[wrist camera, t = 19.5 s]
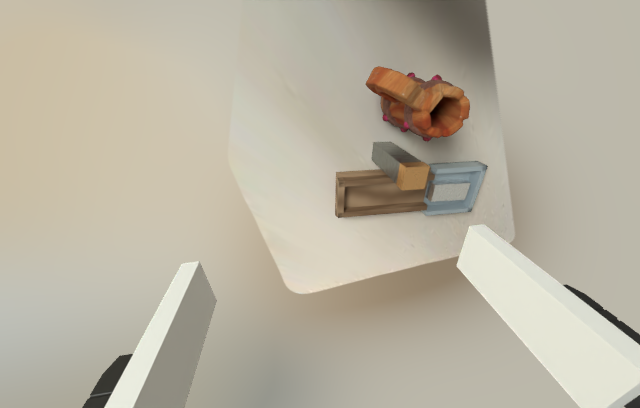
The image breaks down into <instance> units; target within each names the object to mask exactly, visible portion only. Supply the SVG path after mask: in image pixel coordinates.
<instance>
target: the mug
mask: <svg viewBox="0 0 640 408" xmlns="http://www.w3.org/2000/svg"><path fill="white" fill-rule="evenodd" d="M366 86H367V87H368V88H369V89H370V90H372V91H373V92H374V93H376V94H378V95H379V96H382V97H381V108H382V111H383V113H384V115H383V121H389V122H390V123H391V124H393V125H395V126H397V127H399V128H400V129H401V131H402V132H406V131H407V130H408V129H409V130H410V131H412V132H413V133H415V134H417V135H419V136H422V137H423V140H424V141H429V140H430V139H431V138H432V137H436V138H439V137H441V136H443V137H447V136H450V135H452V134H454V133H455V132H457V131H458V130H459V129H460V128H461V127H462V126H463V120H464V119H467V118H468V117H469V110H470V103H469V100H468V99H467V97H465V96H464V91H463V90H461V89H460V88H458V87H454V86H453V85H452V84H450V83H449V82H446V81H443V80H442V78H441V77H440V76H439V75H436V76H434V77H433V78H432V79H431V80H430V81H427V82H425V81H423V80H422V79H420V78H416V77H415V74H414V73H409V74H408V75H407V76H406V75H404V74H402V73H400V72H398V71H394V70H392V69H388V68H384V67H375V68H374V69H373V71H372V73H371V74H370V76H369V78H368V80H367V82H366Z"/></svg>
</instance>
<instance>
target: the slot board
mask: <svg viewBox="0 0 640 408" xmlns="http://www.w3.org/2000/svg"><path fill="white" fill-rule="evenodd" d="M434 178H435V174H433V173H432V172H431V167H430V168H429V172H428V176H427V180H426V184H425V188H424V189H416V190H401V189H400V188H399V187H398V186H397V185H396V184H395V183H394V182H393V181H392V180H391V179H390V178H389V177H388V176H387V175H386V174H385V173H384V172H383V171H382V170H381V169H379V170H364V171H348V172H336V203H335V215H336V216H337V217H338V218H341V217H353V216H364V215H376V214H388V213H399V212H411V211H423V210H427V206H428V205H427V204H426V203H424V202H423V201H424V197H425V193H426V189H427V184H428V181H431V180H434Z"/></svg>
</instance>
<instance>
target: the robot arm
mask: <svg viewBox="0 0 640 408" xmlns="http://www.w3.org/2000/svg"><path fill="white" fill-rule="evenodd" d="M456 266H457V267H458V268H459V270H460V271H461V272H462V273H463V274H464V275H465V276H466V278H467V279H468V280H469V281H470V282H471V283H472V284H473V286H474V287H475V288H476V289H477V290H478V291H479V292H480V293H481V295H482V296H483V297H484V298H485V299H486V300H487V302H488V303H489V304H490V305H491V306H492V307H493V308H494V310H495V311H496V312H497V313H498V314H499V315H500V316H501V317H502V319H503V320H504V321H505V322H506V323H507V324H508V326H509V327H510V328H511V329H512V330H513V331H514V332H515V334H516V335H517V336H518V337H519V338H520V339H521V340H522V341H523V343H524V344H525V345H526V346H527V347H528V348H529V350H530V351H531V352H532V353H533V354H534V355H535V356H536V358H537V359H538V360H539V361H540V362H541V363H542V364H543V366H544V367H545V368H546V369H547V370H548V371H549V372H550V374H551V375H552V376H553V377H554V378H555V379H556V380H557V382H558V383H559V384H560V385H561V386H562V387H563V388H564V390H565V391H566V392H567V393H568V394H569V395H570V396H571V398H572V399H573V400H574V401H575V402H576V403H577V405H578V406H579V407H580V408H622V407H626V408H640V335H639V334H638V333H637V332H635V331H634V330H633V329H631V328H630V327H629V326H627V325H626V324H625V323H623V322H622V321H618V320H617V317H615V316H614V315H612V314H611V313H610V312H608V311H607V310H604V309H603V307H602V306H600V305H599V304H598V303H596V302H595V301H593V300H592V299H591V298H590V297H588V296H587V295H586V294H584V293H582V292H580V291H578V290H576V289H574V288H572V287H570V286H568V285H562V284H560V283H559V282H558V281H556V280H555V279H554V278H553V277H551V276H550V275H549V274H547V273H546V272H545V271H543V270H542V269H541V268H540V267H538V266H537V265H536V264H535V263H533V262H532V261H531V260H529V259H528V258H527V257H526V256H524V255H523V254H521V253H520V252H519V251H518V250H516V249H515V248H514V247H513V246H511V245H510V244H509V243H507V242H506V241H505V240H504V239H502V238H501V237H500V236H498V235H497V234H496V233H495V232H493V231H492V230H491V229H489V228H488V227H487V226H485V225H484V224H482V225H474V226H469V229H468V232H467V235H466V238H465V241H464V244H463V247H462V250H461V253H460V256H459V260H458V263H457V265H456ZM216 301H217V300H216V298H215V296H214V294H213V291H212V289H211V287H210V284H209V282H208V280H207V277H206V275H205V273H204V271H203V268H202V266H201V264H200V262H191V263H183V264H182V265H181V266H180V268H179V270H178V272H177V274H176V276H175V277H174V280H173V281H172V283H171V285H170V287H169V289H168V291H167V292H166V294H165V296H164V298H163V300H162V302H161V304H160V305H159V307H158V309H157V311H156V313H155V315H154V317H153V318H152V320H151V322H150V324H149V326H148V328H147V329H146V331H145V333H144V335H143V337H142V339H141V341H140V342H139V344H138V346H137V348H136V350H135V352H134V354H129V355H122V356H119V357H118V358H117V359H116V361H114V362H113V364H112V365H111V366H110V367H109V368H108V369H107V370H106V371H105V372H104V373H103V374H102V376H101V378H100V379H99V381H98V383H97V385H96V386H95V388H94V389H93V391H92V393H91V394H90V396H91V397H90V398H89V399H88V400H87V401H86V403H85V404H84V406H83V408H184V407H185V404H186V401H187V397H188V394H189V391H190V387H191V384H192V381H193V377H194V374H195V371H196V367H197V364H198V361H199V358H200V354H201V351H202V348H203V344H204V341H205V338H206V334H207V331H208V328H209V324H210V321H211V318H212V314H213V311H214V308H215V304H216Z"/></svg>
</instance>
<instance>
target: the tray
mask: <svg viewBox="0 0 640 408" xmlns="http://www.w3.org/2000/svg"><path fill="white" fill-rule="evenodd" d="M429 166H430V167H431V172H432V173H433V174H435V178H434V180H439V179H460V178H463V179H465V180H467V181H468V182H470V183H471V184H470V186H469V189H468V192H467V195H466V198H465V200H453V201H435V202H431V201H430V200H428V199H427V198H426V197H424V201H423V202H424V203H426V204H427V205H428V206H427V210H423V211H422V212H423V213H424V214H425V215H426V216H427V215H438V214H450V213H461V212H471V210H472V208H473V205H474V202H475V199H476V197H477V194H478V191H479V188H480V186H481V183H482V180H483V177H484V175H485V172H486V169H487V165H485V164H482V163H480V162H478V161H471V162H455V163H439V164H429ZM428 182H429V181H428ZM427 186H428V184H427ZM426 190H427V189H426ZM425 194H426V193H425Z"/></svg>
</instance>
